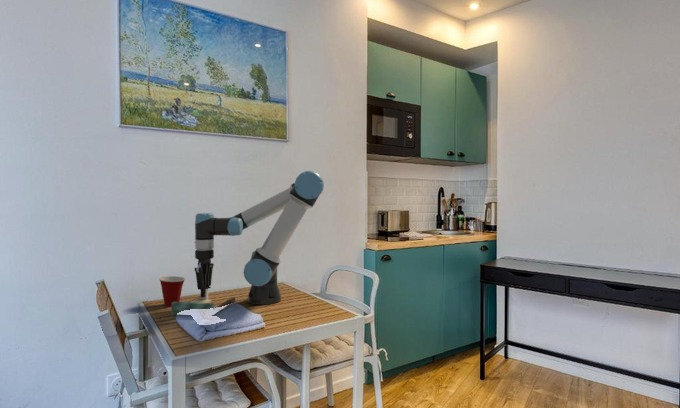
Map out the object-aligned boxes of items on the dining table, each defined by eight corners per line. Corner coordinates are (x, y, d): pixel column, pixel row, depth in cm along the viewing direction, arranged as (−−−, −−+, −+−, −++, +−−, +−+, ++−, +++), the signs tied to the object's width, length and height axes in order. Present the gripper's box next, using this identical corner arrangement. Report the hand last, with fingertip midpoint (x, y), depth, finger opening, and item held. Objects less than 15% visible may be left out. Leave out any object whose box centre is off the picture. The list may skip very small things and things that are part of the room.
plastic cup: (184, 306, 172) (184, 279, 172) (157, 308, 169) (157, 280, 169) (186, 300, 182) (186, 274, 182) (160, 302, 179) (160, 275, 179)
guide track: (235, 301, 181) (235, 290, 181) (211, 317, 157) (211, 304, 157) (200, 300, 183) (200, 289, 183) (171, 315, 160) (171, 302, 160)
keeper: (211, 310, 168) (211, 299, 168) (203, 314, 161) (203, 303, 161) (196, 309, 169) (196, 298, 169) (187, 314, 162) (187, 303, 162)
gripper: (203, 247, 176) (203, 300, 176) (188, 251, 163) (188, 308, 163) (219, 247, 175) (219, 300, 175) (205, 251, 162) (205, 308, 162)
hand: (204, 304), depth 169 cm, fingers closed
